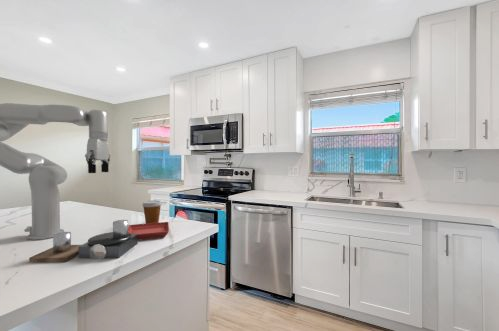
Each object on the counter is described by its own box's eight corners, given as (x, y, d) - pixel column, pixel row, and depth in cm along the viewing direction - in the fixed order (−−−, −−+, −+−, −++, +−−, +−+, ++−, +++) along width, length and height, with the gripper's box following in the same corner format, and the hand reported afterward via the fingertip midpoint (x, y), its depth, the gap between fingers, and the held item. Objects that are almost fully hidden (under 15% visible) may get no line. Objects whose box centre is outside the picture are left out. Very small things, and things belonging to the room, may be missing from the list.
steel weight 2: (110, 239, 85) (109, 223, 85) (117, 235, 90) (117, 219, 90) (123, 239, 85) (123, 223, 85) (130, 235, 90) (130, 219, 90)
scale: (76, 261, 80) (76, 244, 80) (103, 245, 95) (102, 231, 95) (117, 261, 80) (117, 244, 80) (137, 245, 95) (137, 231, 95)
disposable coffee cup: (157, 226, 120) (157, 203, 120) (139, 226, 120) (138, 203, 120) (164, 221, 129) (164, 200, 129) (147, 221, 130) (147, 200, 129)
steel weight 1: (49, 252, 81) (49, 235, 81) (61, 247, 86) (61, 231, 86) (63, 253, 81) (63, 236, 81) (74, 248, 86) (74, 231, 86)
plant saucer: (129, 231, 113) (129, 224, 113) (168, 227, 120) (168, 221, 119) (123, 243, 96) (123, 235, 96) (169, 238, 103) (169, 231, 103)
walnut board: (29, 262, 77) (29, 257, 77) (58, 248, 89) (58, 244, 89) (65, 262, 78) (65, 257, 78) (89, 248, 90) (89, 244, 90)
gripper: (101, 138, 119) (102, 171, 120) (77, 134, 102) (77, 173, 102) (116, 138, 119) (116, 171, 120) (94, 134, 102) (95, 173, 102)
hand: (98, 172), depth 111 cm, fingers open, 9 cm apart
